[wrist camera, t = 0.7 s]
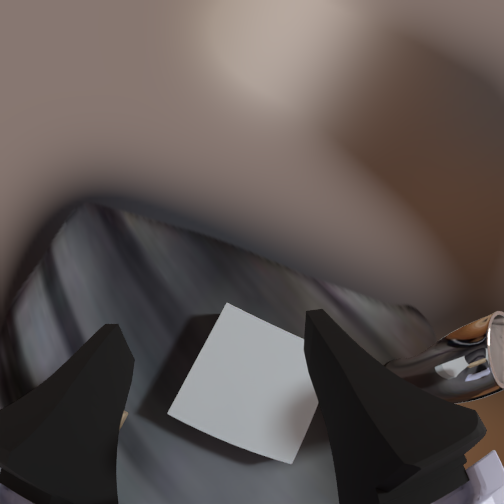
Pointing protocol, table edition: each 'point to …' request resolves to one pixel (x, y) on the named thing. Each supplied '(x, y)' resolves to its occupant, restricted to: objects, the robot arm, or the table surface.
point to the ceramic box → (249, 387)
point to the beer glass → (460, 362)
